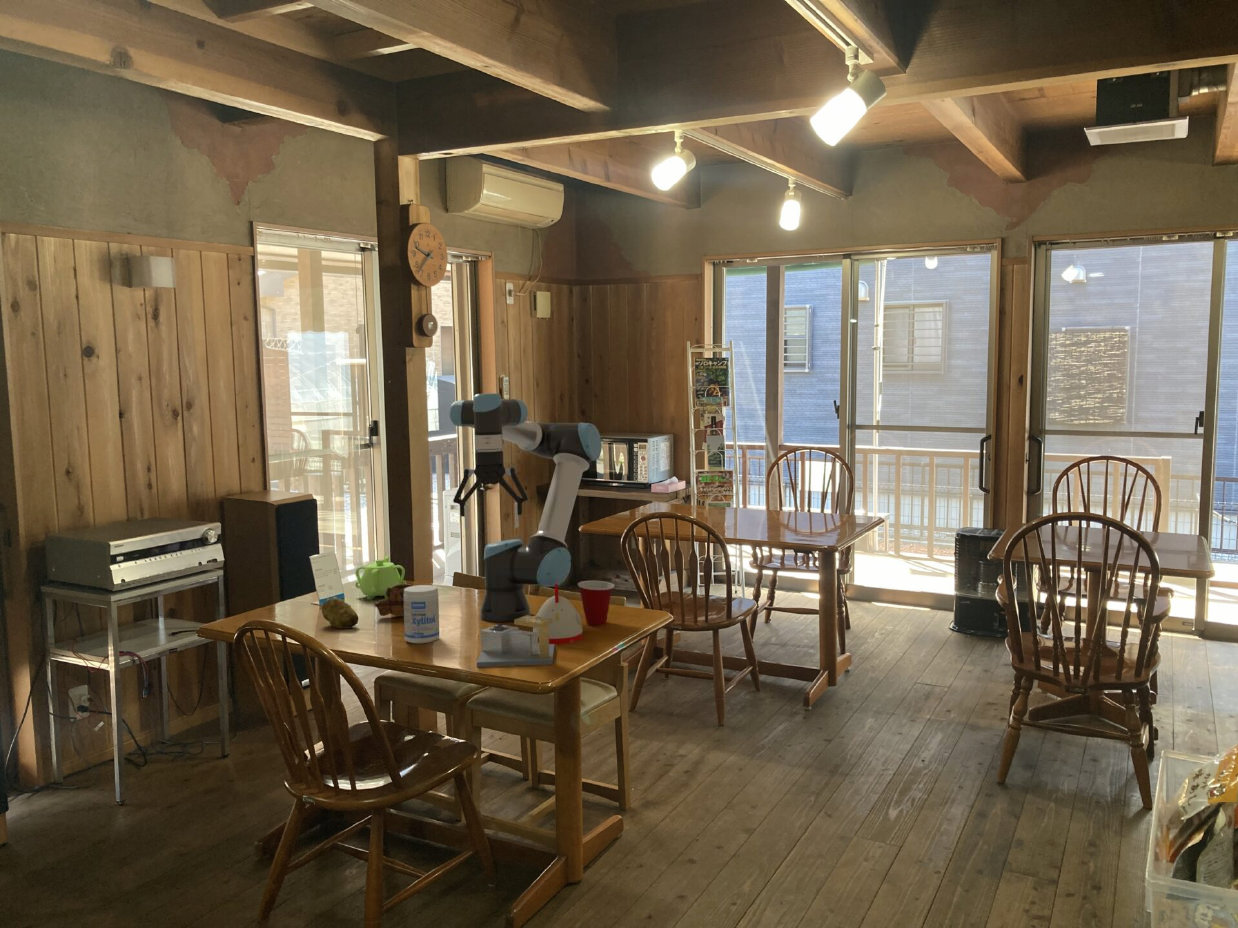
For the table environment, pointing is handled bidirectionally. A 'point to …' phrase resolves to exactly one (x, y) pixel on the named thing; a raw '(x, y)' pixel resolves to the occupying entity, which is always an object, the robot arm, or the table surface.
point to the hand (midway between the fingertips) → (492, 527)
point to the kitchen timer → (561, 620)
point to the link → (509, 641)
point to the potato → (339, 613)
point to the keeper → (543, 631)
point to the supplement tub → (421, 614)
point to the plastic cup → (595, 601)
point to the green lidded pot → (379, 578)
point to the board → (513, 659)
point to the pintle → (498, 627)
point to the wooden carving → (393, 601)
